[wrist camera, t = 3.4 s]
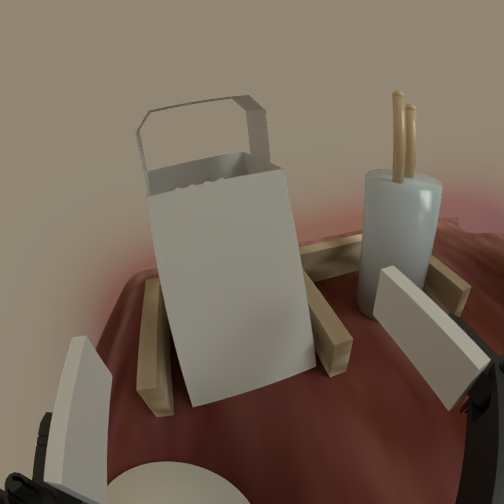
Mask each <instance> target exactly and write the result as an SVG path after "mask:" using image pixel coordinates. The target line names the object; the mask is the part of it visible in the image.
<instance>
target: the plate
mask: <svg viewBox="0 0 504 504" xmlns="http://www.w3.org/2000/svg"><path fill="white" fill-rule="evenodd" d="M107 497H108V504H250V503H249V501H248V500H247V499H246V498H245V496H244V495H243V494H242V493H241V492H240V491H239V490H238V489H237V488H236V487H235V486H234V485H232V484H231V483H230V482H229V481H227V480H226V479H224V478H222V477H221V476H219V475H217V474H215V473H214V472H212V471H210V470H207V469H204V468H202V467H199V466H195V465H192V464H187V463H181V462H170V461H169V462H154V463H148V464H144V465H140V466H137V467H134V468H132V469H130V470H128V471H126V472H124V473H122V474H121V475H119V476H118V477H117V478H115V479H114V480H113V481H112V482H111V483H110V484H109V485H108V486H107Z"/></svg>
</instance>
